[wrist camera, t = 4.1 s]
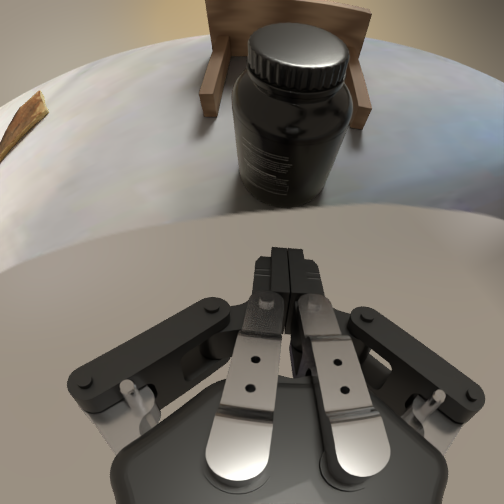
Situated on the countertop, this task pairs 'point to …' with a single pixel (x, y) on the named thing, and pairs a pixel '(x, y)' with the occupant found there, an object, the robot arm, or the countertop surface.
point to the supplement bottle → (290, 111)
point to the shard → (23, 122)
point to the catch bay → (282, 11)
